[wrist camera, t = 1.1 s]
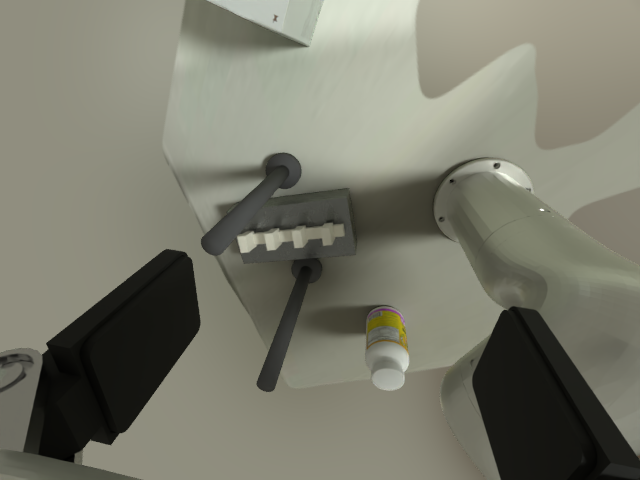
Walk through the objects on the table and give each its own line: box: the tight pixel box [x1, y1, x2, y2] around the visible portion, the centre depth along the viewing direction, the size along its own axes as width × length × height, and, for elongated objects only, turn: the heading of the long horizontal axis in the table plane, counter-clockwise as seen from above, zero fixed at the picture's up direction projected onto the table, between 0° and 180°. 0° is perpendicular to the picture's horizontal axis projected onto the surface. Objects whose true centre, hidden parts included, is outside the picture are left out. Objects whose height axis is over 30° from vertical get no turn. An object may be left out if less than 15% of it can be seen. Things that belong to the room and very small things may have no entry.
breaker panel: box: [227, 188, 357, 264], centre depth 47 cm, size 18×9×4 cm, turn 101°
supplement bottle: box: [365, 306, 409, 390], centre depth 50 cm, size 7×7×13 cm
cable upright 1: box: [201, 153, 301, 255], centre depth 35 cm, size 5×5×23 cm
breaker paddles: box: [237, 223, 345, 253], centre depth 44 cm, size 16×2×4 cm, turn 101°
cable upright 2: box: [257, 258, 322, 392], centre depth 43 cm, size 5×5×23 cm
